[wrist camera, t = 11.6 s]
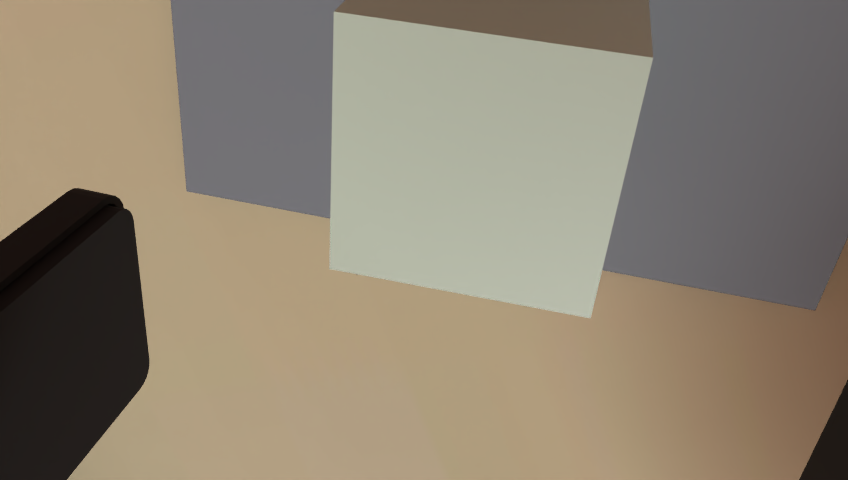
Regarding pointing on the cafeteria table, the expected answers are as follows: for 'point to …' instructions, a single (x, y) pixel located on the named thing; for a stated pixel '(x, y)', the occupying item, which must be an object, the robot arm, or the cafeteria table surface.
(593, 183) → the block
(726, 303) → the cafeteria table surface
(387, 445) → the cafeteria table surface
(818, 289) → the mat
